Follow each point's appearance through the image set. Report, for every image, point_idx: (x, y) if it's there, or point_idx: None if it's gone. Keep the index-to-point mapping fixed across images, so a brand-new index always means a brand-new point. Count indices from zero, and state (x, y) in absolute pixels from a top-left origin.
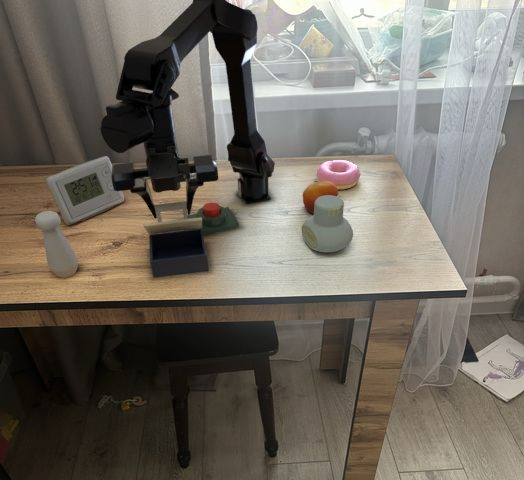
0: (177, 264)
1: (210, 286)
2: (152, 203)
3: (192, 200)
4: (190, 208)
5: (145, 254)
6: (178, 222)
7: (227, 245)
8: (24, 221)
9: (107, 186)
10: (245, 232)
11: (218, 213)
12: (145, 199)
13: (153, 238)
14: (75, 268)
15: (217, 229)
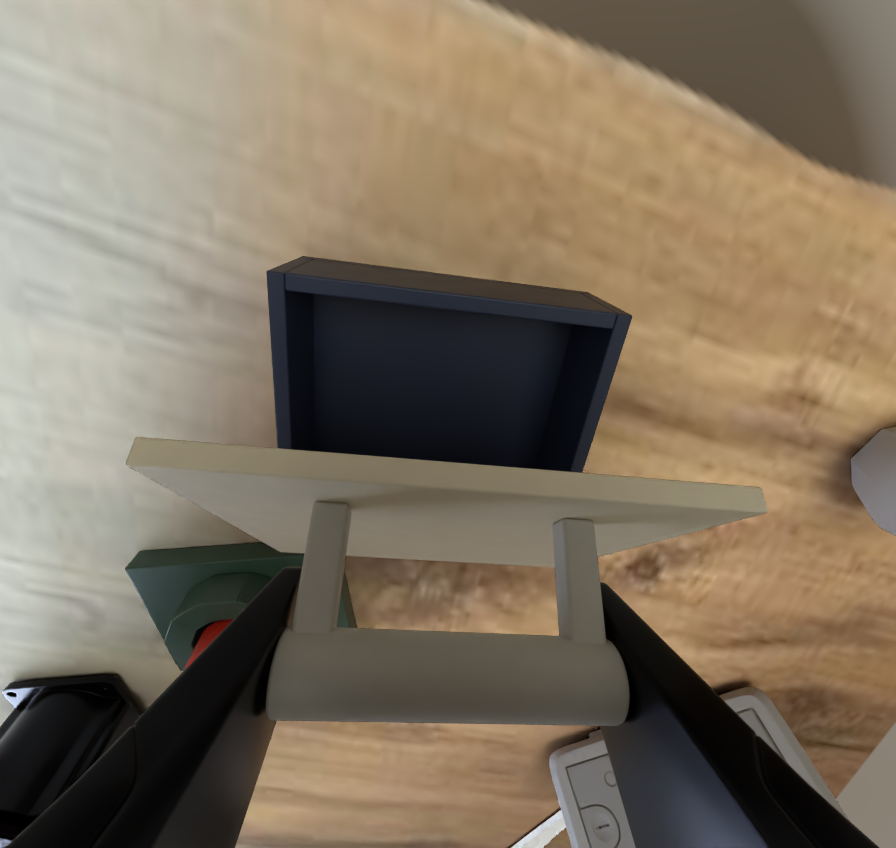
0: (467, 286)
1: (302, 89)
2: (694, 747)
3: (143, 717)
4: (242, 616)
5: None
6: (412, 460)
7: None
8: (846, 721)
9: (617, 826)
10: (107, 517)
11: (203, 633)
12: (845, 840)
13: None
14: (884, 449)
15: (233, 555)
